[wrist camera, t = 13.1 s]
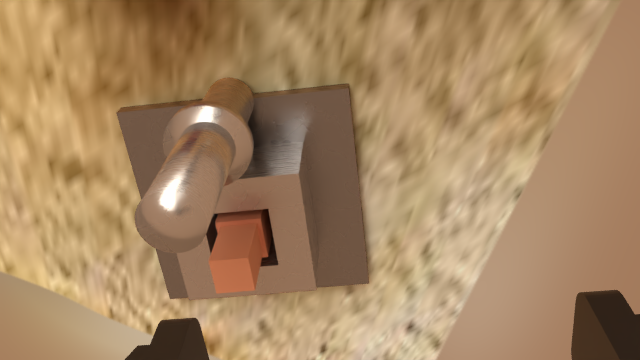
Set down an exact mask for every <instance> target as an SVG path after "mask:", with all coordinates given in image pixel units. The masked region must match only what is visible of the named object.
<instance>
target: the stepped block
mask: <svg viewBox="0 0 640 360" xmlns="http://www.w3.org/2000/svg"><path fill="white" fill-rule="evenodd" d="M215 224H216V229H217V233H218V235H217V238H216V241H215V244H214V247H213V250H212V253H211V255H210V258H209V265H210V269H211V273H212V277H213V281H214V285H215V289H216V293H217V294H218V293H230V292H242V291H254V290H255V289H256V284H257V279H258V274H259V270H260V265H261V260H262V257H268V254H269V249H270V244H271V239H272V234H273V232H272V227H271V221H270V216H269V211H268V209H260V210H249V211H238V212H227V213H218V216H217V219H216V222H215Z"/></svg>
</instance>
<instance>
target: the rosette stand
mask: <svg viewBox="0 0 640 360" xmlns="http://www.w3.org/2000/svg"><path fill="white" fill-rule="evenodd" d="M117 116H118V120H119V123H120V127H121V130H122V134H123V137H124V141H125V144H126V147H127V151H128V154H129V158H130V161H131V165H132V168H133V172H134V175H135V179H136V182H137V186H138V189H139V193H140V196H141V199H142V200H141V202H140V203H139V205H138V206H137V209H136V212H135V224H136V227H137V230H138V232H139V234H140V235H141V237H142V238H143V239H144V240H145V241H146V242H147V243H148V244H150V245H151V246H152V247H154V248H156V251H157V255H158V258H159V262H160V265H161V269H162V272H163V276H164V279H165V283H166V286H167V290H168V293H169V297H170V299H176V298H189V300H195V299H208V298H221V297H234V296H247V295H260V294H273V293H285V292H298V291H311V290H317V287H329V286H342V285H355V284H368V283H369V277H368V267H367V257H366V248H365V238H364V229H363V219H362V209H361V200H360V190H359V181H358V171H357V161H356V152H355V142H354V133H353V123H352V113H351V104H350V94H349V84H340V85H330V86H321V87H311V88H302V89H293V90H283V91H274V92H264V93H255V94H252V92H251V90H250V88H249V87H248V86H247V85H246V84H245V83H243V82H242V81H240V80H238V79H234V78H223V79H220V80H218V81H216V82H215V83H214V84H213V85H212V86H211V87H210V89H209V90H208V92H207V94H206V95H205V97H204V99H198V100H189V101H180V102H170V103H161V104H151V105H142V106H132V107H123V108H120V110H119V111H118V112H117ZM260 209H268V211H269V216H270V221H271V227H272V232H273V234H272V239H271V244H270V249H269V254H268V257H262V260H261V265H260V270H259V274H258V279H257V284H256V289H255V290H254V291H242V292H230V293H218V294H217V293H216V289H215V285H214V281H213V277H212V273H211V269H210V265H209V258H210V255H211V253H212V250H213V247H214V244H215V241H216V238H217V235H218V233H217V229H216V224H215V222H216V219H217V216H218V213H227V212H238V211H249V210H260Z"/></svg>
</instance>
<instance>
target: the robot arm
mask: <svg viewBox="0 0 640 360" xmlns="http://www.w3.org/2000/svg"><path fill="white" fill-rule="evenodd" d="M571 353H572V354H571V355H572V360H640V314H637V315H635V314H634V313H633V311H632V309H631V308H630V306H629V304H628V303H627V301H626V300H625V298H624V297H623V295H622V294H621V293H620V292H619V291H618V290H609V291H594V292H581V293H578V295H577V297H576V304H575V315H574V326H573V336H572V348H571ZM125 360H209V357H208V353H207V349H206V346H205V342H204V338H203V335H202V331H201V327H200V324H199V322H198V320H197V319H196V318H185V319H171V320H162V321H160V323H159V324H158V327H157V329H156V332H155V334H154V336H153V339H152V342H151V344H150V345H142V346H137V347H136V348H135V349H134V350H133V352H131V354H130V355H129V356H128V357H127V358H126V359H125Z"/></svg>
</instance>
